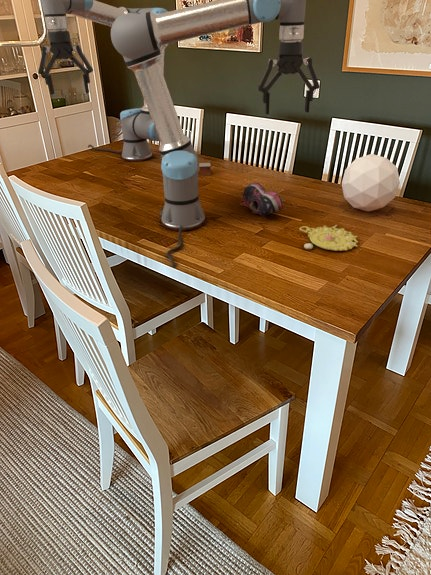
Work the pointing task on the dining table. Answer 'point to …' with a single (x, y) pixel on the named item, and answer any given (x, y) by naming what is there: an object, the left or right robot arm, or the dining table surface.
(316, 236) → the decorative object
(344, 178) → the sphere
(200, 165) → the block
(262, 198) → the athletic shoe
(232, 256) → the dining table surface
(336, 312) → the dining table surface
